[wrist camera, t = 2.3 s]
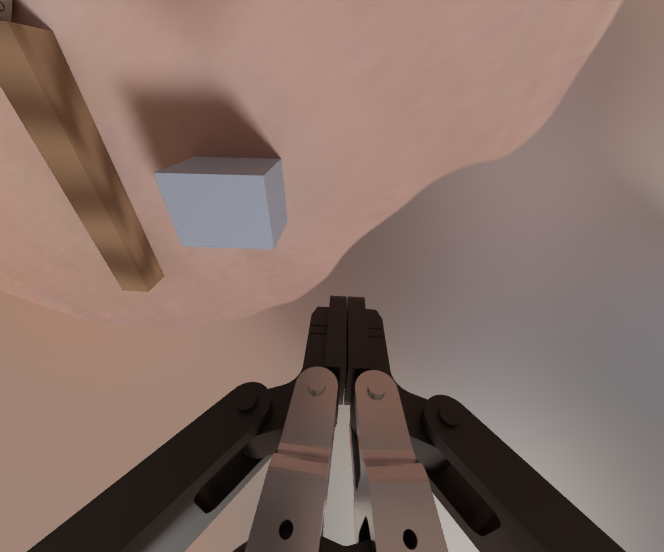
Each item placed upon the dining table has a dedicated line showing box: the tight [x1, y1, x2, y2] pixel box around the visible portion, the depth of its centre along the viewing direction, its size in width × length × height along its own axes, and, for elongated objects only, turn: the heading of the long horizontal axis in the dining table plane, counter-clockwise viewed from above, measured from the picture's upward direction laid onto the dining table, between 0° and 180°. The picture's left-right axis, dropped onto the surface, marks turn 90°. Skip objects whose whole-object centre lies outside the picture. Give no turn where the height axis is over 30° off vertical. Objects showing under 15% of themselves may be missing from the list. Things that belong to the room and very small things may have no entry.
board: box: [0, 21, 164, 292], centre depth 23 cm, size 22×3×3 cm, turn 178°
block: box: [153, 157, 287, 250], centre depth 22 cm, size 6×8×6 cm
